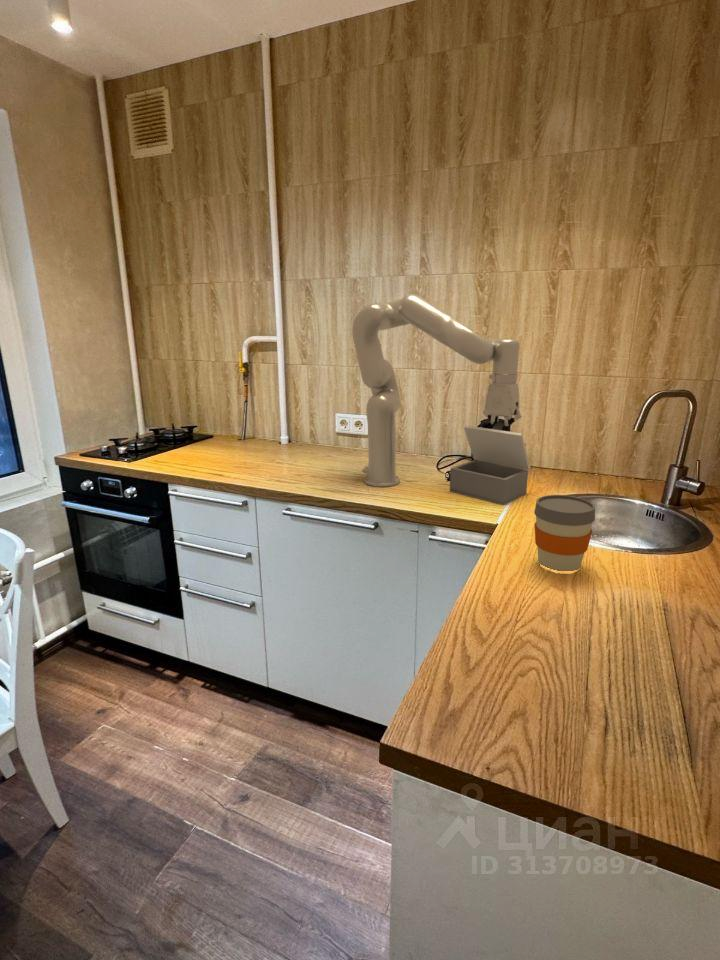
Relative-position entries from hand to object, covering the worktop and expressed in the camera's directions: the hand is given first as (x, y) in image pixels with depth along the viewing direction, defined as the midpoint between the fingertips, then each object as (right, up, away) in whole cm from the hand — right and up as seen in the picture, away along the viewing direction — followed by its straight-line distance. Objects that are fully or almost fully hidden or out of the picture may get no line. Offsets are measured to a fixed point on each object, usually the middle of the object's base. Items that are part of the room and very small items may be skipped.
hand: (500, 436), depth 166 cm
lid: (-2, -4, -1) cm, 4 cm away
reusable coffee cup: (0, -34, -50) cm, 60 cm away
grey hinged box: (-4, -19, +1) cm, 19 cm away
